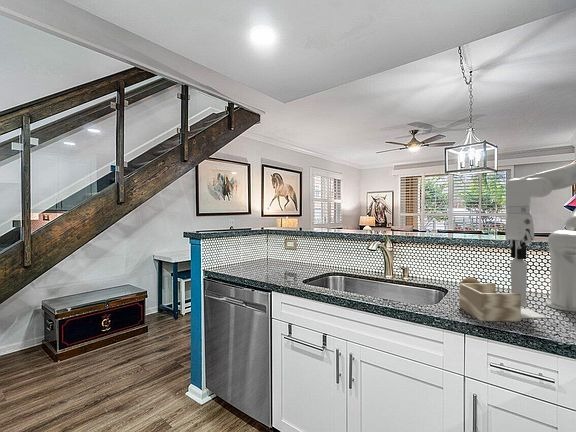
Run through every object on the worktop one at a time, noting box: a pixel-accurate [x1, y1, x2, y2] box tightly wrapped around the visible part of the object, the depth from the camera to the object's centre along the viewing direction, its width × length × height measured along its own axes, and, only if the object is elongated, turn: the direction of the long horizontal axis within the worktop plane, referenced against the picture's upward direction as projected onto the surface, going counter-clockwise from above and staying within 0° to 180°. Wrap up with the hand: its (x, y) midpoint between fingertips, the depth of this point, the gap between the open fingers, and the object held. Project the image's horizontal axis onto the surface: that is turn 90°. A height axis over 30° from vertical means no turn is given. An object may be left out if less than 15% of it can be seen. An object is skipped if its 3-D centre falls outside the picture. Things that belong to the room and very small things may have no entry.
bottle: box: [510, 240, 528, 307], centre depth 122 cm, size 5×5×25 cm
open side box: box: [459, 282, 522, 322], centre depth 123 cm, size 14×16×10 cm
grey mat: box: [521, 308, 548, 319], centre depth 122 cm, size 10×10×1 cm
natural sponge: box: [460, 277, 481, 283], centre depth 142 cm, size 9×9×10 cm
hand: (518, 257), depth 122 cm, fingers closed on bottle, 2 cm apart
